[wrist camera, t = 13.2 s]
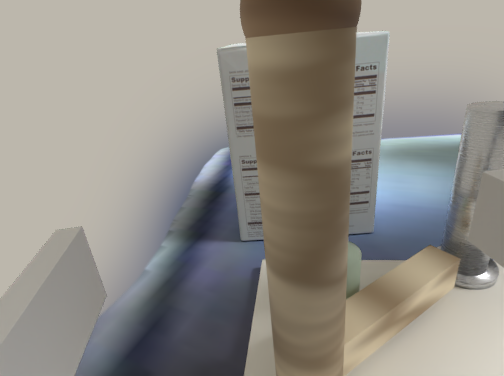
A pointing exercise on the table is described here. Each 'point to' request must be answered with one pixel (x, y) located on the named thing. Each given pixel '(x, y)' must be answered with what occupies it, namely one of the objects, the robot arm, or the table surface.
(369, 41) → the supplement box
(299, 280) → the gate
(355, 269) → the post
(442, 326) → the board
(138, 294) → the table surface
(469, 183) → the hinge post
